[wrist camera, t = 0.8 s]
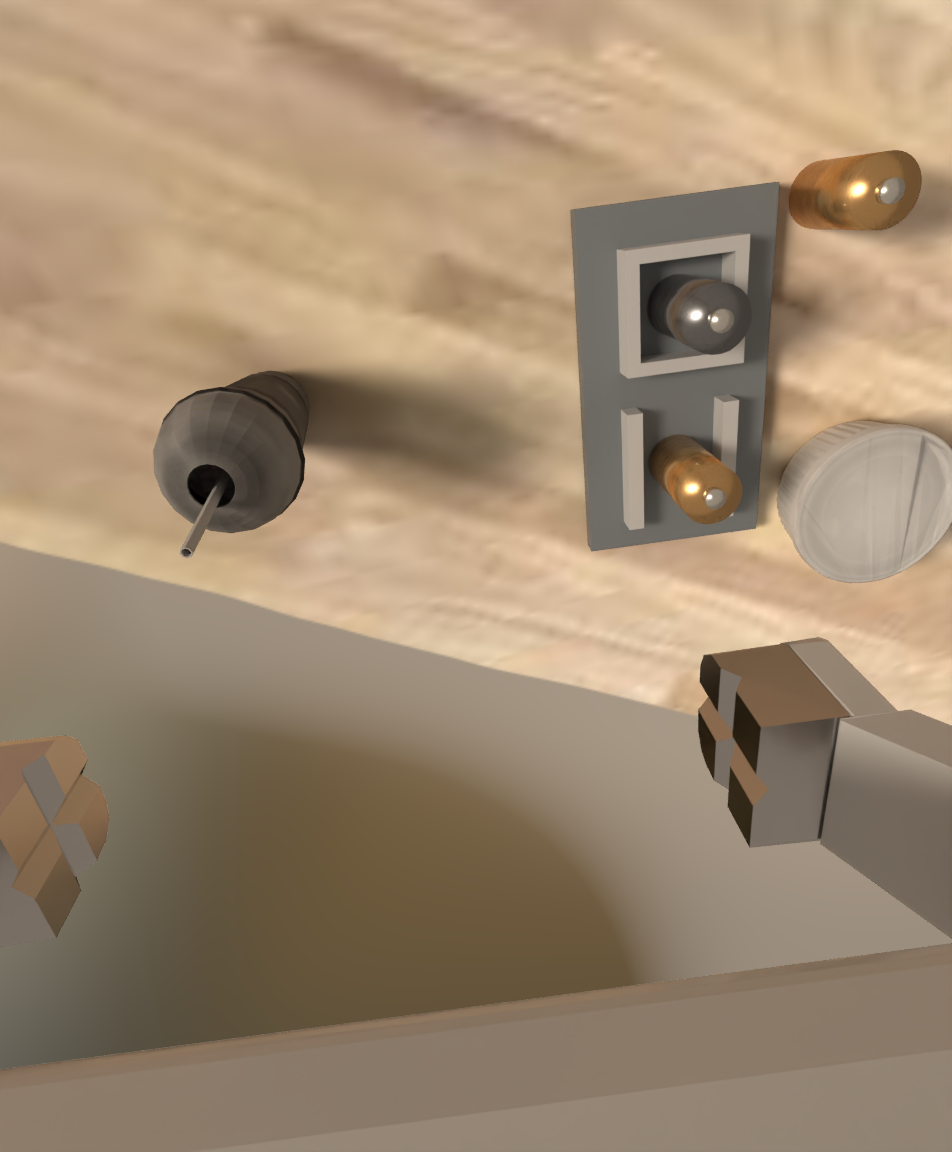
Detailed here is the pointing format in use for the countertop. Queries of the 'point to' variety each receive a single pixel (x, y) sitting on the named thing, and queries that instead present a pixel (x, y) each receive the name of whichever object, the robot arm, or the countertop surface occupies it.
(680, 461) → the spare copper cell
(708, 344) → the cylinder
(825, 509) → the ramekin
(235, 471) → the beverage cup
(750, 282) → the gray slab
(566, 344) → the countertop surface
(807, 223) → the copper cell
